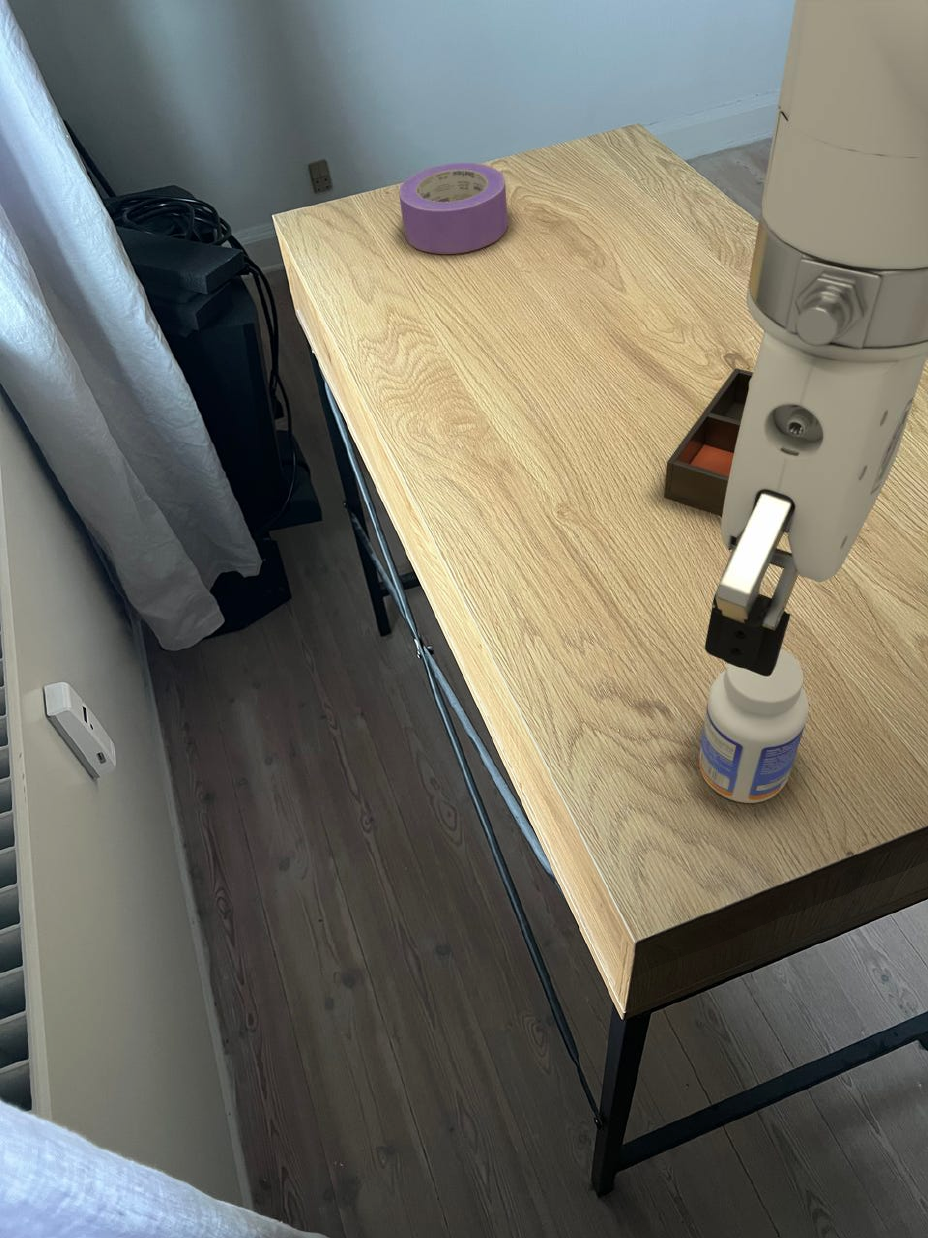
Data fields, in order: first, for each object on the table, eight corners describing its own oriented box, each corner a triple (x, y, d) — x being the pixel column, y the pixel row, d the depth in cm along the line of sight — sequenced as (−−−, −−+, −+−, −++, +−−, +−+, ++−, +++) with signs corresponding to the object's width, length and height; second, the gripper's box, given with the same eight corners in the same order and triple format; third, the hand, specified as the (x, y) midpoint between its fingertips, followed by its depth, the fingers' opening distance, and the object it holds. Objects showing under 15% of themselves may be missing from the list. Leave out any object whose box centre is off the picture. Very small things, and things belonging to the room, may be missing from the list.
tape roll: (404, 211, 109) (398, 168, 106) (503, 199, 109) (500, 155, 105) (406, 261, 102) (399, 216, 98) (512, 248, 101) (509, 202, 98)
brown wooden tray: (810, 424, 77) (818, 388, 75) (749, 524, 70) (755, 489, 68) (730, 403, 80) (735, 367, 78) (663, 497, 73) (666, 461, 71)
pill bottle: (789, 737, 58) (820, 638, 51) (787, 813, 55) (819, 719, 47) (700, 724, 59) (717, 625, 52) (692, 797, 56) (710, 703, 49)
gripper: (900, 437, 26) (788, 757, 39) (1035, 177, 35) (908, 508, 48) (657, 369, 29) (628, 686, 42) (838, 145, 38) (768, 465, 51)
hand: (777, 591), depth 45 cm, fingers open, 9 cm apart
